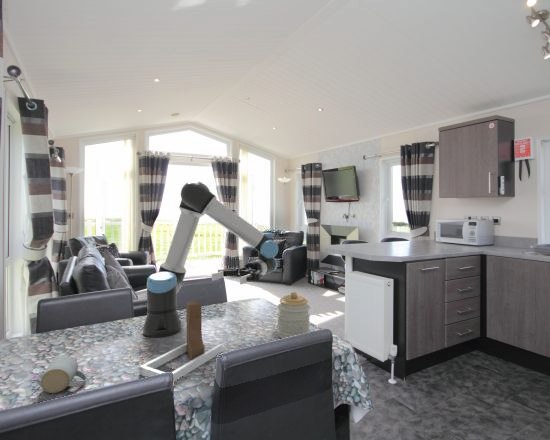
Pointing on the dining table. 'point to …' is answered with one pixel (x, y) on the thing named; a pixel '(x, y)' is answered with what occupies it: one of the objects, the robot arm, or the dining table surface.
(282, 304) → the jar
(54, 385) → the ceramic mug
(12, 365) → the dining table surface
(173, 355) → the channel
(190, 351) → the wooden block
